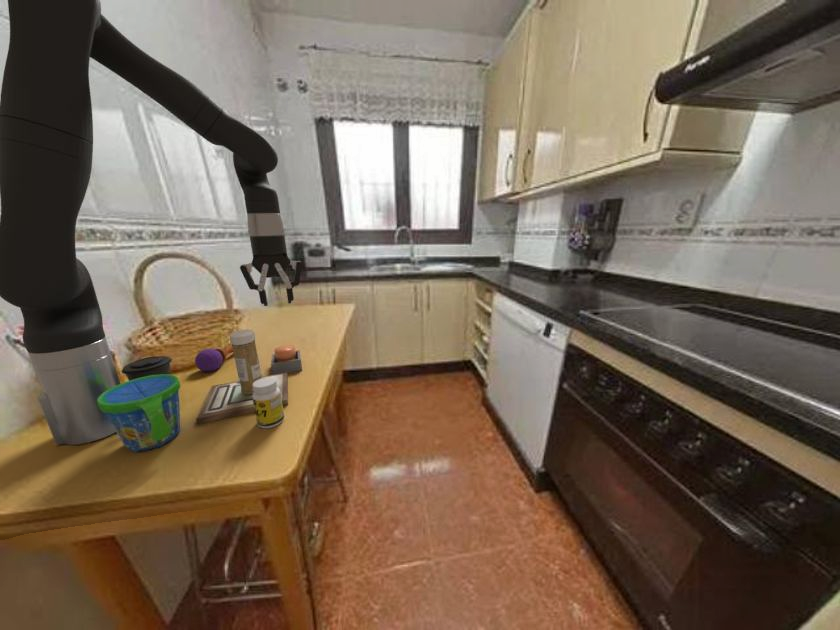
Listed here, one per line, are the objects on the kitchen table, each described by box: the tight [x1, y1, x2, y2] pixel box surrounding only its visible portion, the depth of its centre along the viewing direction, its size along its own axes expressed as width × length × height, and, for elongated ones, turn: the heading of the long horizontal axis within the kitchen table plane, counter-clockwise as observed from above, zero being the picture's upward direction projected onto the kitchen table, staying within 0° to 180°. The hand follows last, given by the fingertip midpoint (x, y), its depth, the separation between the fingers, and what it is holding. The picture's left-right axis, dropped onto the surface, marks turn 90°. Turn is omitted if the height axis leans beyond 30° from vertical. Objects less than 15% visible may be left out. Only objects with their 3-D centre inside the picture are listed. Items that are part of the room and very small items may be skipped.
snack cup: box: [97, 374, 181, 453], centre depth 54 cm, size 16×10×10 cm
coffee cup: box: [121, 355, 172, 381], centre depth 66 cm, size 8×8×10 cm
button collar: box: [270, 349, 303, 375], centre depth 83 cm, size 7×7×3 cm
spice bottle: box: [229, 329, 263, 395], centre depth 67 cm, size 5×5×14 cm
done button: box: [274, 345, 297, 362], centre depth 82 cm, size 5×5×4 cm
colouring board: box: [195, 373, 289, 425], centre depth 69 cm, size 16×14×2 cm
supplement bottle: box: [252, 377, 285, 429], centre depth 59 cm, size 5×5×8 cm
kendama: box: [194, 345, 234, 372], centre depth 89 cm, size 6×6×20 cm
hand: (277, 303), depth 79 cm, fingers open, 5 cm apart
